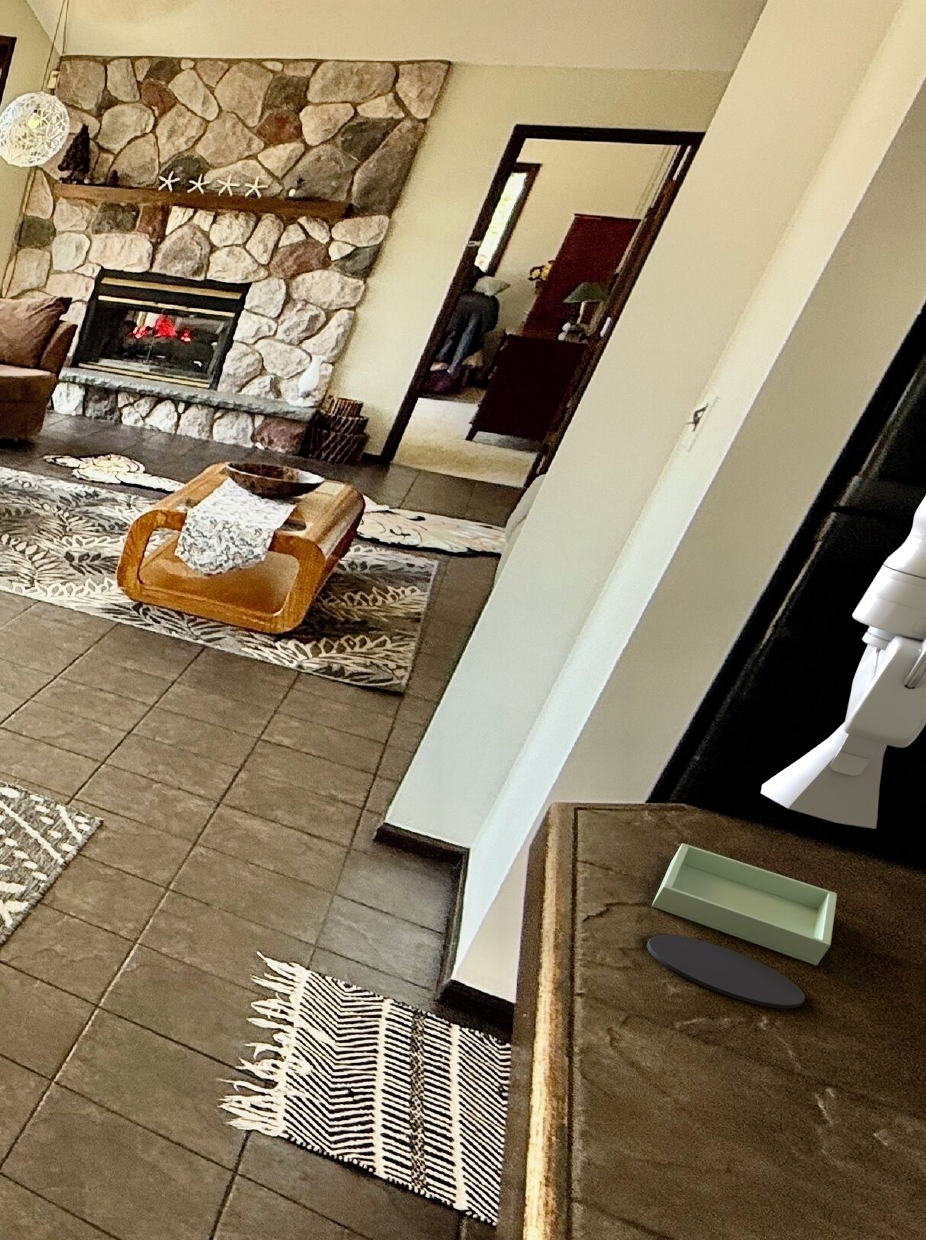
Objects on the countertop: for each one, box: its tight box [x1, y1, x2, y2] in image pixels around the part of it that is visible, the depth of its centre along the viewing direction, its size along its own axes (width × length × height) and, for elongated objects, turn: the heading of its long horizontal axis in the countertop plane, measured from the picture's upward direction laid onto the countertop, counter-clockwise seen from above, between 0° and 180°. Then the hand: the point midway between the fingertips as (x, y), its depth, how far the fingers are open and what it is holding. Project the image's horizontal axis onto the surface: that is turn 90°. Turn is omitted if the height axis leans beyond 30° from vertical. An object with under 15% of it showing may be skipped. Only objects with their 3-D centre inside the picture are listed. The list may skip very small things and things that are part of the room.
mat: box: [646, 934, 806, 1010], centre depth 102 cm, size 10×10×1 cm
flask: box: [760, 721, 888, 830], centre depth 97 cm, size 7×7×10 cm
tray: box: [651, 843, 838, 966], centre depth 112 cm, size 15×11×2 cm
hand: (844, 765), depth 97 cm, fingers closed on flask, 3 cm apart
